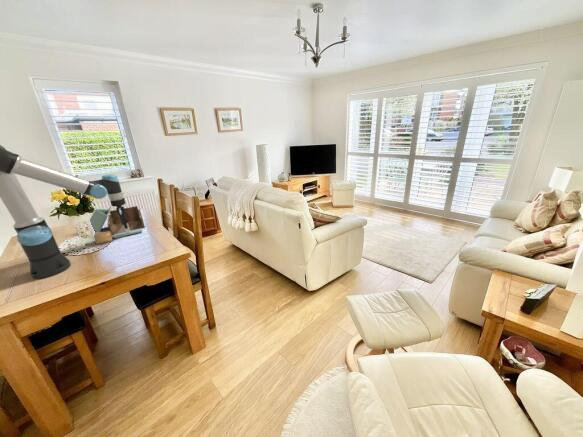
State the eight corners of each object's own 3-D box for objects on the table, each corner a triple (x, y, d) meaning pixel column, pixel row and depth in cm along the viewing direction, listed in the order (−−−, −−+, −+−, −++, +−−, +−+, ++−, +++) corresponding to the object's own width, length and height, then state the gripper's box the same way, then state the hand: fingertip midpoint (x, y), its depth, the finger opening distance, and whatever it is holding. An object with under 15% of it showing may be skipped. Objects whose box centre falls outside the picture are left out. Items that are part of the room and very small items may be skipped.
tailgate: (115, 235, 161) (114, 238, 154) (114, 234, 161) (113, 236, 154) (142, 229, 169) (142, 231, 163) (141, 228, 169) (141, 230, 162)
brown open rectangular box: (111, 236, 161) (105, 220, 156) (112, 226, 178) (107, 211, 173) (145, 229, 171) (140, 213, 166) (143, 220, 188) (138, 205, 183)
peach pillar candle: (97, 246, 148) (93, 236, 146) (98, 242, 154) (94, 232, 151) (113, 242, 152) (109, 233, 150) (113, 238, 158) (109, 229, 155)
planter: (87, 222, 175) (100, 198, 174) (100, 225, 180) (112, 202, 180) (85, 229, 162) (98, 203, 162) (99, 233, 167) (112, 208, 167)
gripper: (124, 200, 147) (134, 234, 156) (123, 195, 157) (134, 227, 166) (109, 202, 143) (121, 237, 152) (110, 197, 153) (121, 230, 162)
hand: (127, 232), depth 159 cm, fingers closed
